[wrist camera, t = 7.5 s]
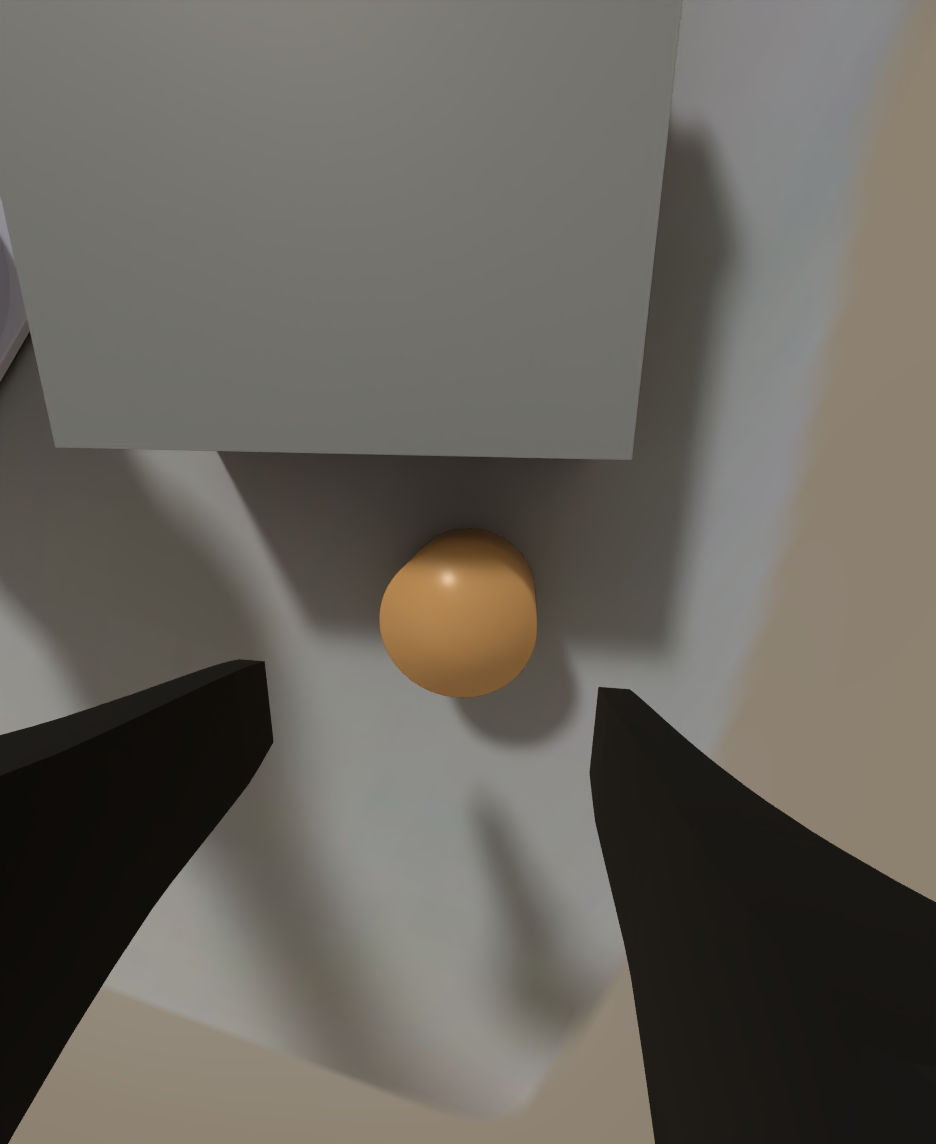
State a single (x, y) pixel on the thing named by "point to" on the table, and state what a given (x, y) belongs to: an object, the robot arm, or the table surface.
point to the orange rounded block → (461, 614)
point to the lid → (337, 220)
